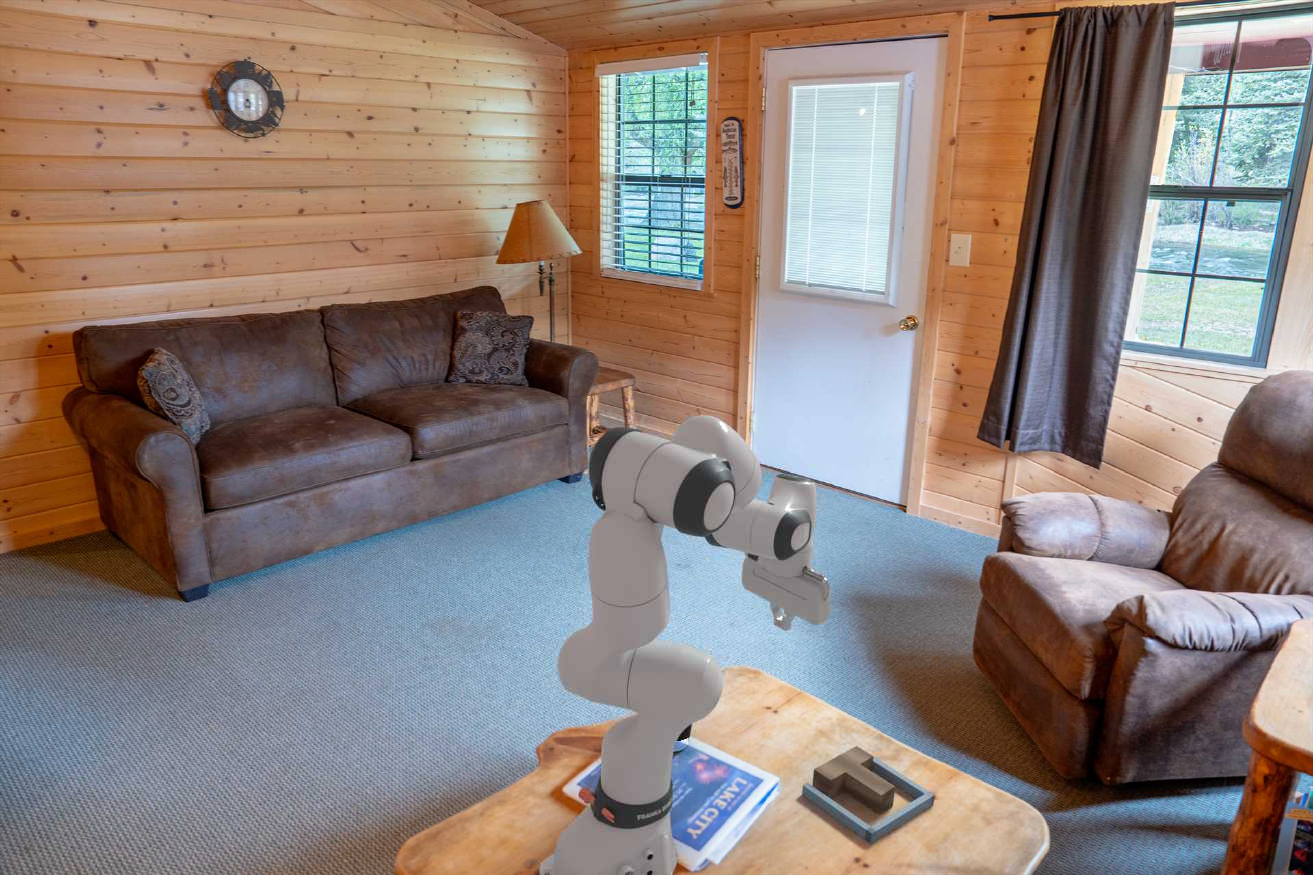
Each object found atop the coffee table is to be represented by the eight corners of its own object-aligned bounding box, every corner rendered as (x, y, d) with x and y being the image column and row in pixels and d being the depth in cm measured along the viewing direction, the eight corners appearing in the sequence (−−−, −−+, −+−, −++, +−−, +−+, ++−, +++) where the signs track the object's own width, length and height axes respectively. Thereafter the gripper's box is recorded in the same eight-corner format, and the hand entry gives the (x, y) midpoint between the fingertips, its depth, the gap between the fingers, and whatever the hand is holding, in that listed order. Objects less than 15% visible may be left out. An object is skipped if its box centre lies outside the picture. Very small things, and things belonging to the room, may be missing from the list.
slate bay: (870, 843, 155) (871, 833, 154) (801, 794, 167) (802, 784, 166) (933, 804, 165) (934, 794, 165) (864, 760, 177) (865, 751, 177)
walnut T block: (864, 823, 160) (866, 803, 159) (812, 787, 169) (813, 768, 168) (906, 796, 167) (909, 777, 166) (854, 764, 176) (856, 745, 175)
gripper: (842, 574, 164) (835, 645, 167) (762, 538, 180) (757, 604, 183) (817, 582, 160) (810, 654, 164) (738, 544, 176) (733, 611, 179)
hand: (782, 627), depth 174 cm, fingers closed
